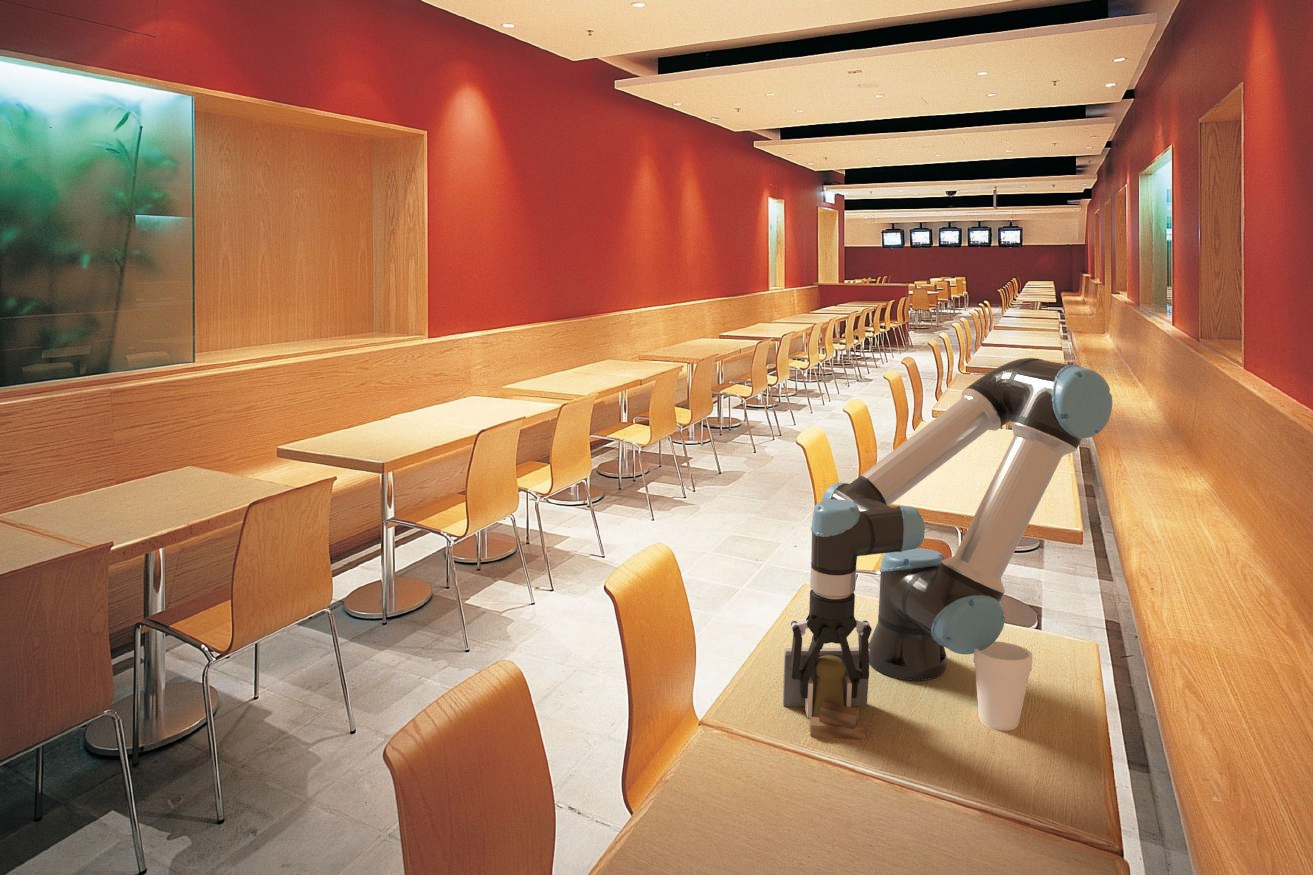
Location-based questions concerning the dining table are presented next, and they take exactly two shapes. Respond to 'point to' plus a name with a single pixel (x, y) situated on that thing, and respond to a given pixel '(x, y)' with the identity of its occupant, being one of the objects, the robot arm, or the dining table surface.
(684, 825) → the dining table surface
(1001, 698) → the foam cup
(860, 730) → the offcut low
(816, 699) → the cork
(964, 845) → the dining table surface
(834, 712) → the offcut top
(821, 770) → the dining table surface
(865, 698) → the board
